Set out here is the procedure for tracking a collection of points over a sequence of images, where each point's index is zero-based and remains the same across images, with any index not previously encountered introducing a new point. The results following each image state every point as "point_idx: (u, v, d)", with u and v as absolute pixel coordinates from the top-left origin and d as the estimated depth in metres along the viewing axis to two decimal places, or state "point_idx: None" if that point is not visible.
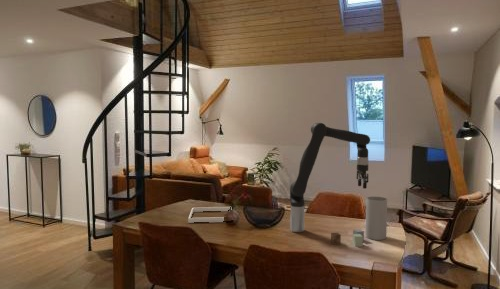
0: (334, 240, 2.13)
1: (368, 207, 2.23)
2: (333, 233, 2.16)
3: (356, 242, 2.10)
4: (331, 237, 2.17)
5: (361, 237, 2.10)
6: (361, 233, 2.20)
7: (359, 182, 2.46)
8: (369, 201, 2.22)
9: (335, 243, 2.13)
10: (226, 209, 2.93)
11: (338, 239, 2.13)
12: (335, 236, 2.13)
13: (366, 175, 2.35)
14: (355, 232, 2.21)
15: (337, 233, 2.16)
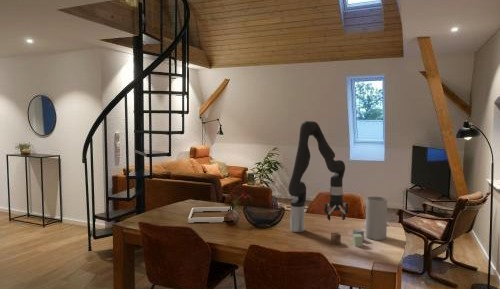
0: (334, 240, 2.13)
1: (368, 207, 2.23)
2: (333, 233, 2.16)
3: (356, 242, 2.10)
4: (331, 237, 2.17)
5: (361, 237, 2.10)
6: (361, 233, 2.20)
7: None
8: (369, 201, 2.22)
9: (335, 243, 2.13)
10: (226, 209, 2.93)
11: (338, 239, 2.13)
12: (335, 236, 2.13)
13: None
14: (355, 232, 2.21)
15: (337, 233, 2.16)
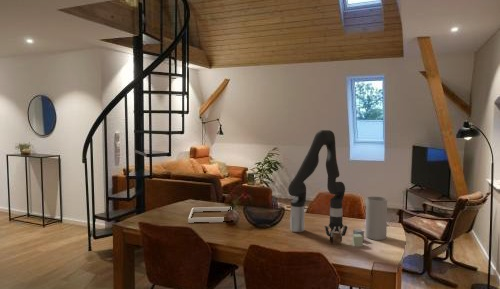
0: (334, 240, 2.13)
1: (368, 207, 2.23)
2: None
3: (356, 242, 2.10)
4: None
5: (361, 237, 2.10)
6: (361, 233, 2.20)
7: None
8: (369, 201, 2.22)
9: (335, 243, 2.13)
10: (226, 209, 2.93)
11: (338, 239, 2.13)
12: (335, 236, 2.13)
13: None
14: (355, 232, 2.21)
15: (337, 233, 2.16)
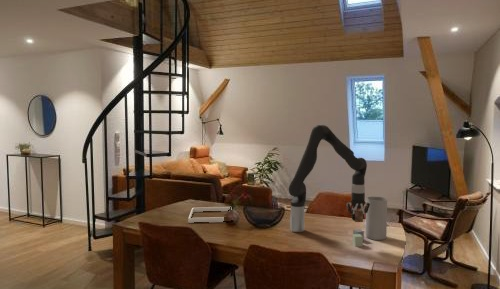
0: (356, 217, 2.09)
1: None
2: None
3: (356, 242, 2.10)
4: None
5: (361, 237, 2.10)
6: (361, 233, 2.20)
7: None
8: (369, 201, 2.22)
9: (357, 220, 2.09)
10: (226, 209, 2.93)
11: (361, 216, 2.09)
12: (357, 213, 2.09)
13: None
14: (355, 232, 2.21)
15: (359, 210, 2.12)
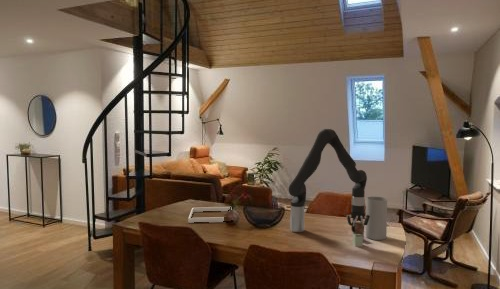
0: (356, 229, 2.10)
1: (368, 207, 2.23)
2: None
3: (356, 242, 2.10)
4: None
5: (361, 237, 2.10)
6: None
7: None
8: (369, 201, 2.22)
9: (357, 233, 2.10)
10: (226, 209, 2.93)
11: (361, 229, 2.10)
12: (357, 225, 2.09)
13: None
14: None
15: (359, 222, 2.12)
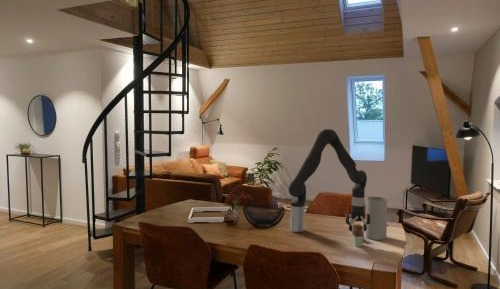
0: (356, 232, 2.10)
1: (368, 207, 2.23)
2: (355, 225, 2.12)
3: (356, 242, 2.10)
4: (353, 229, 2.13)
5: (361, 237, 2.10)
6: None
7: None
8: (369, 201, 2.22)
9: (356, 235, 2.10)
10: (226, 209, 2.93)
11: (360, 231, 2.10)
12: (357, 228, 2.10)
13: None
14: None
15: (359, 225, 2.12)
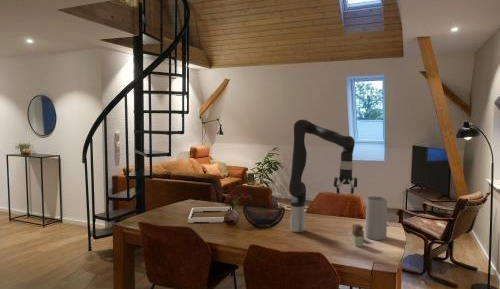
0: (356, 232, 2.10)
1: (368, 207, 2.23)
2: (355, 225, 2.12)
3: (356, 242, 2.10)
4: (353, 229, 2.13)
5: (361, 237, 2.10)
6: None
7: None
8: (369, 201, 2.22)
9: (356, 235, 2.10)
10: (226, 209, 2.93)
11: (360, 231, 2.10)
12: (357, 228, 2.10)
13: None
14: None
15: (359, 225, 2.12)
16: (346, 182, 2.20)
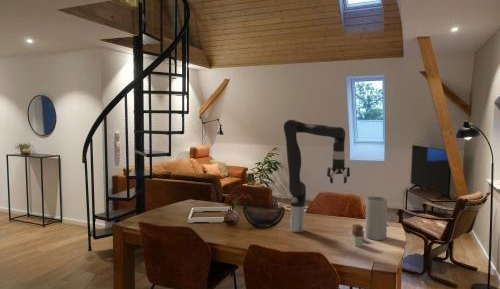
0: (356, 232, 2.10)
1: (368, 207, 2.23)
2: (355, 225, 2.12)
3: (356, 242, 2.10)
4: (353, 229, 2.13)
5: (361, 237, 2.10)
6: None
7: None
8: (369, 201, 2.22)
9: (356, 235, 2.10)
10: (226, 209, 2.93)
11: (360, 231, 2.10)
12: (357, 228, 2.10)
13: None
14: None
15: (359, 225, 2.12)
16: (339, 172, 2.27)
